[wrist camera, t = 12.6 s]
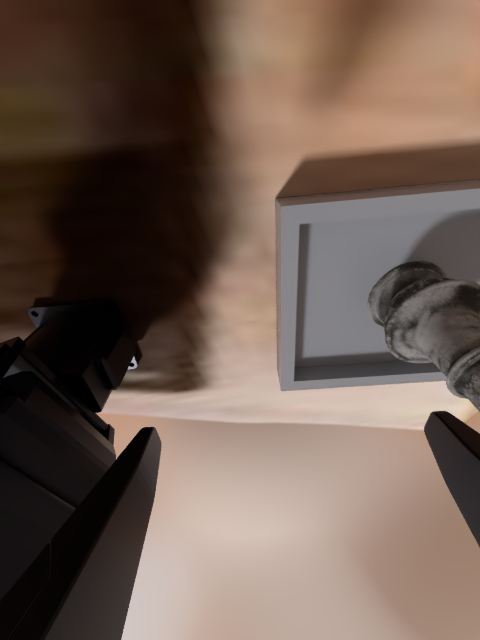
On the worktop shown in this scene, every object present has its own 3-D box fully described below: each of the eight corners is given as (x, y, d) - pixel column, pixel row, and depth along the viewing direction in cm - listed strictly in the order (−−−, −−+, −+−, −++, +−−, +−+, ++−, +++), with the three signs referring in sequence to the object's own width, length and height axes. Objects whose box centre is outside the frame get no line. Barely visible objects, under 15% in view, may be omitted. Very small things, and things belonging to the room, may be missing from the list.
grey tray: (277, 369, 24) (281, 391, 22) (275, 198, 16) (281, 206, 14) (463, 356, 23) (486, 377, 21) (553, 172, 16) (602, 177, 14)
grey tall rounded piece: (360, 337, 21) (476, 519, 11) (365, 265, 18) (534, 429, 8) (441, 324, 20) (644, 504, 10) (461, 248, 17) (784, 401, 7)
